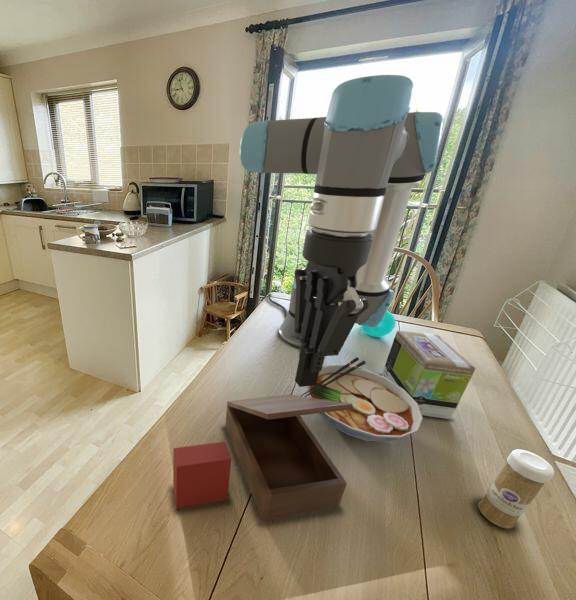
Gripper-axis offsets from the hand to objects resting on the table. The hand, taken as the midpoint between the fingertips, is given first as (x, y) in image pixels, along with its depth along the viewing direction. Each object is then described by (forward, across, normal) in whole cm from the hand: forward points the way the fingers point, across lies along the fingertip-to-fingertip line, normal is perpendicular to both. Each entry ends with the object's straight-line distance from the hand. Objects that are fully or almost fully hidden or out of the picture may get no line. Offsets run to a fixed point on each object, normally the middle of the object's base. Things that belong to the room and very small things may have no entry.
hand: (305, 382), depth 48 cm
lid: (+10, -5, 0) cm, 11 cm away
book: (+24, 0, -16) cm, 28 cm away
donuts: (+24, -48, +57) cm, 78 cm away
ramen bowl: (+24, -12, +23) cm, 35 cm away
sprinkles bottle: (+24, +11, +33) cm, 42 cm away
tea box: (+24, -17, +44) cm, 53 cm away
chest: (+24, -4, 0) cm, 24 cm away
